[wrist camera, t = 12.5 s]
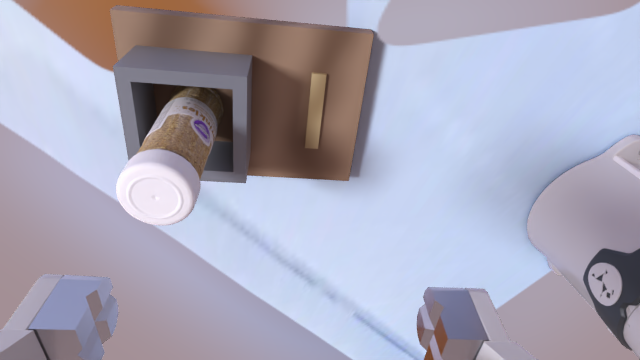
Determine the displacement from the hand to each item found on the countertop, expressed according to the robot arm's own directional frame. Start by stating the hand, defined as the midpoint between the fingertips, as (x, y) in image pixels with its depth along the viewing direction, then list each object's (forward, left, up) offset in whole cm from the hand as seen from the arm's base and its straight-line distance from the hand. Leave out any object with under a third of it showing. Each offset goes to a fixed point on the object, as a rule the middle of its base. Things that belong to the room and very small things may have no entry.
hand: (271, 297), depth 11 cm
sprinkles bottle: (+7, +7, -27) cm, 28 cm away
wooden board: (+3, +6, -28) cm, 29 cm away
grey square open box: (+7, +6, -26) cm, 28 cm away
